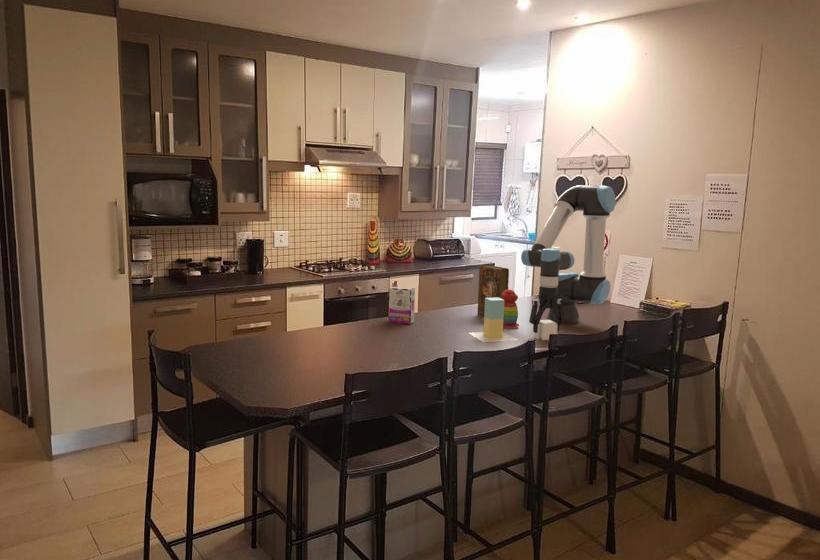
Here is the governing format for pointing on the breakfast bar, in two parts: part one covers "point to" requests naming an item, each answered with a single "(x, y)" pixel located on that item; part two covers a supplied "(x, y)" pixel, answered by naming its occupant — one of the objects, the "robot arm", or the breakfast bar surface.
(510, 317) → the stacking bear
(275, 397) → the breakfast bar surface
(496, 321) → the brick base
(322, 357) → the breakfast bar surface
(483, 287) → the book
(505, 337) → the build plate
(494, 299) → the brick
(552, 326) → the brick
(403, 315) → the candy bar box
